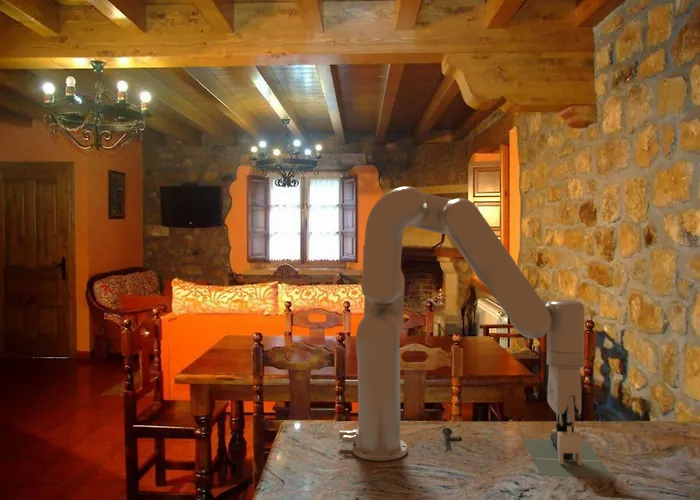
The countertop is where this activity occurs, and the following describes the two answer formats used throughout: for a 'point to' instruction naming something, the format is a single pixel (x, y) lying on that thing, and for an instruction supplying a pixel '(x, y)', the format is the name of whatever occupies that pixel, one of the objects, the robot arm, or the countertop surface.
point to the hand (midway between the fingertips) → (565, 442)
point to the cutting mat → (565, 461)
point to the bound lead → (565, 455)
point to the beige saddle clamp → (569, 444)
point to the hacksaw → (449, 438)
